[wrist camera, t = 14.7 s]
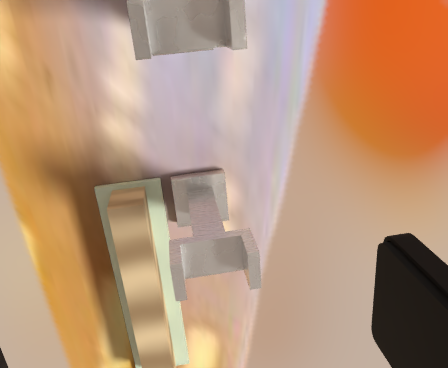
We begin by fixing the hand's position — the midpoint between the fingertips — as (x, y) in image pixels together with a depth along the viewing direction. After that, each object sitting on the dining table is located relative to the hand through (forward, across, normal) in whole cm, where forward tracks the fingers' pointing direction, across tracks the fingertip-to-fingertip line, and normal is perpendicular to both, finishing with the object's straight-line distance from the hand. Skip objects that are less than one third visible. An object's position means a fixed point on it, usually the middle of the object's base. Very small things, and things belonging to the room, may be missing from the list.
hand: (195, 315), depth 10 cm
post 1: (+28, -2, -6) cm, 29 cm away
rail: (+28, +5, +19) cm, 34 cm away
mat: (+28, +5, +19) cm, 34 cm away
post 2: (+28, -2, +10) cm, 30 cm away
